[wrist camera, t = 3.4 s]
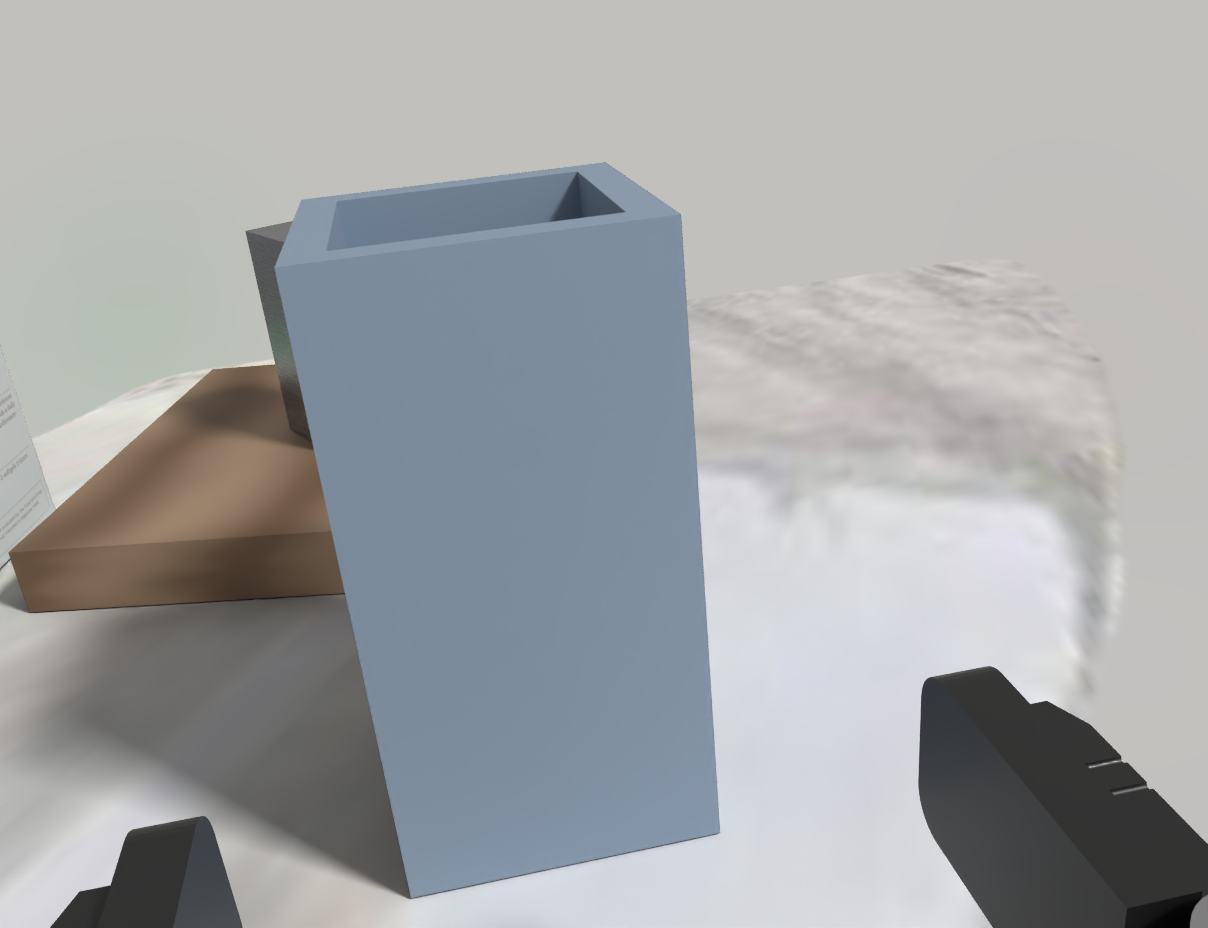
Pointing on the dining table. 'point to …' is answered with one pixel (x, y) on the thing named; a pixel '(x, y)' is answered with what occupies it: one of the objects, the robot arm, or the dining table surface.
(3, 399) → the supplement box
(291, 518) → the base plate
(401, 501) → the sleeve
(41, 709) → the dining table surface
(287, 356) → the post
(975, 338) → the dining table surface
